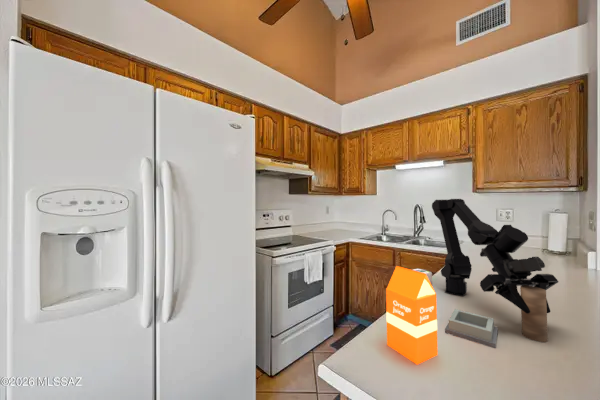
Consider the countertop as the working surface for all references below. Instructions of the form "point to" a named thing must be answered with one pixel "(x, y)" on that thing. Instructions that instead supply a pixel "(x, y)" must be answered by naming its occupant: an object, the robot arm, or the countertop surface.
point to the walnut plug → (534, 314)
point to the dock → (473, 327)
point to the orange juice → (411, 315)
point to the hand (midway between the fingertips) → (538, 312)
